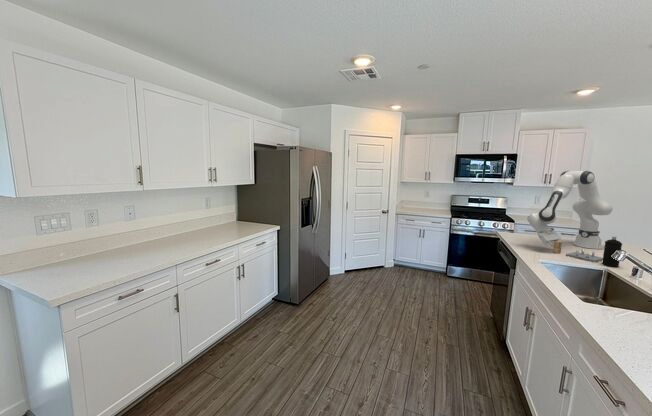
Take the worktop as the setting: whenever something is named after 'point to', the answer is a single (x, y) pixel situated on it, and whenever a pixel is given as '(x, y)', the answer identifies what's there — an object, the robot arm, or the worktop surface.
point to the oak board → (557, 247)
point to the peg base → (585, 256)
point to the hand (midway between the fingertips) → (557, 245)
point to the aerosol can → (611, 252)
